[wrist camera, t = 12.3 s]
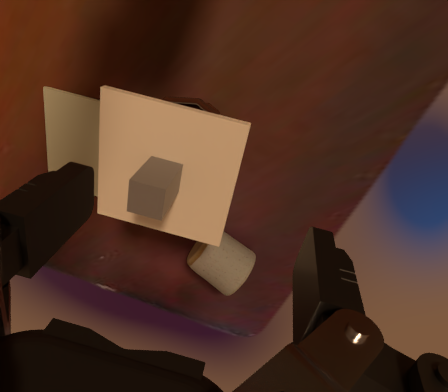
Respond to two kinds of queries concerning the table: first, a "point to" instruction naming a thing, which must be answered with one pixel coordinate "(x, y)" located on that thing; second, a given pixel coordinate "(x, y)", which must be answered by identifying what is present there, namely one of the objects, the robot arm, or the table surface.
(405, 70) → the table surface
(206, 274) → the ceramic mug
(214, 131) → the cover board
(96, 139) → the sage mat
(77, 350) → the robot arm
